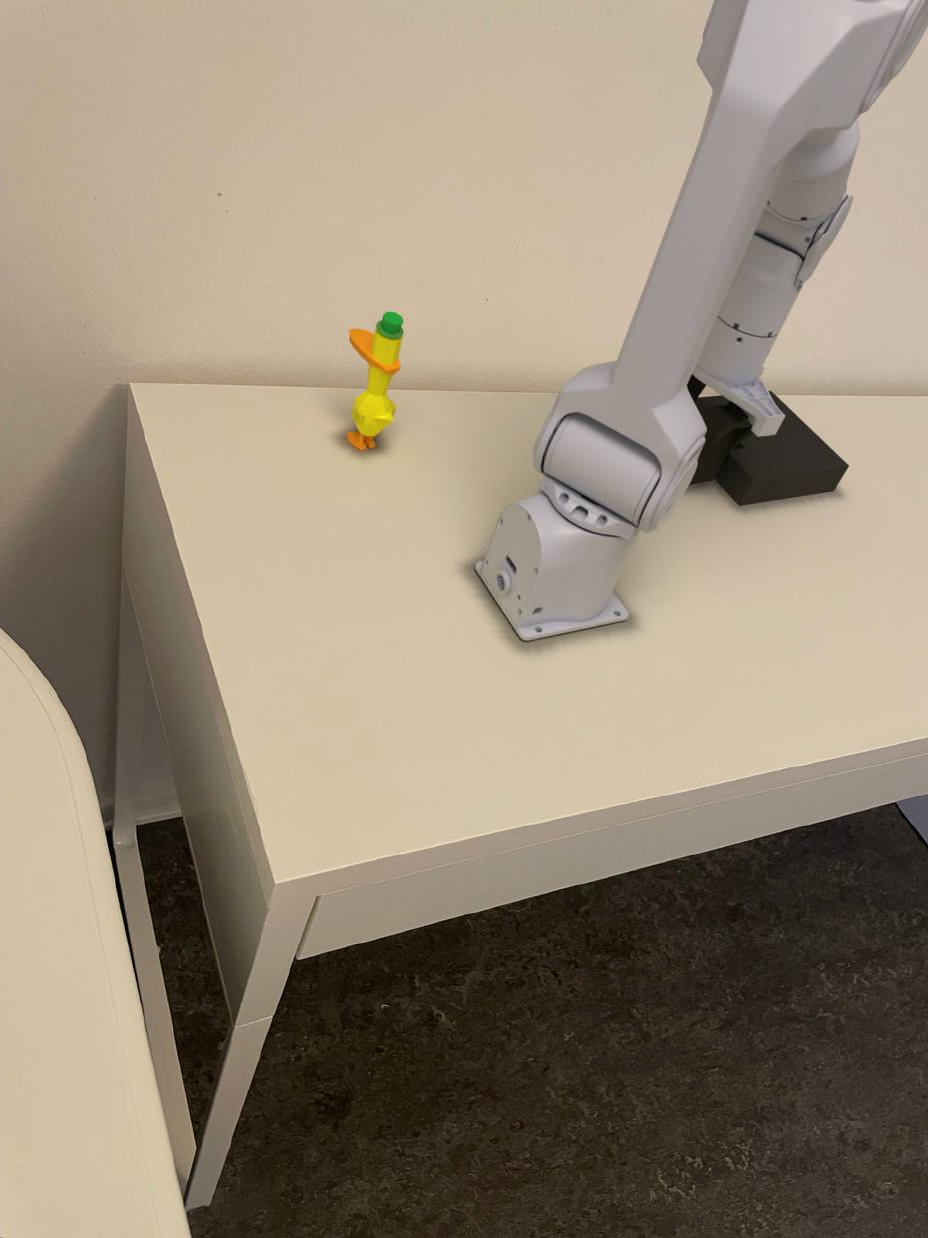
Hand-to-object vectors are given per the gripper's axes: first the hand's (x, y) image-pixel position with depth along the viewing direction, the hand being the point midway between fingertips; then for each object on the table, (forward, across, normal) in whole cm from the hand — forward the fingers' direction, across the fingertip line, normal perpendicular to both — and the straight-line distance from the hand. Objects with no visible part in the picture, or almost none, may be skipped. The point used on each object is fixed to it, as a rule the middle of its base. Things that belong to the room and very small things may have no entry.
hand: (682, 453), depth 93 cm
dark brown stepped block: (+1, 0, 0) cm, 1 cm away
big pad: (+2, 0, -9) cm, 9 cm away
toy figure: (+2, +8, +28) cm, 29 cm away
